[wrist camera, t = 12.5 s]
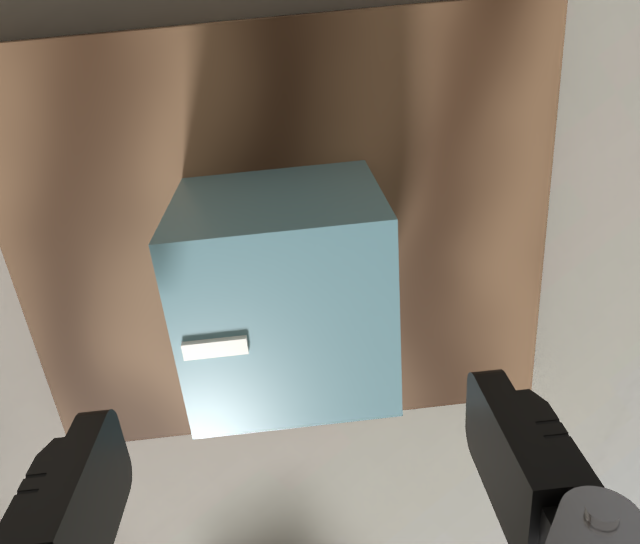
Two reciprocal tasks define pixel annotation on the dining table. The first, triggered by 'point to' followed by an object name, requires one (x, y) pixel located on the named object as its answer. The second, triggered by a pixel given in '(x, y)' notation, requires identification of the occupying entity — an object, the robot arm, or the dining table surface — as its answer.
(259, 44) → the mounting plate
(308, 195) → the mini blue cabinet
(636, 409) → the dining table surface
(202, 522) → the dining table surface
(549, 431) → the robot arm
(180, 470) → the dining table surface
